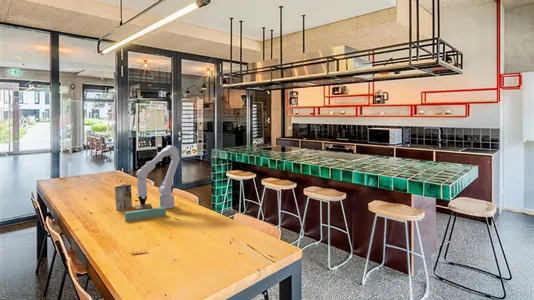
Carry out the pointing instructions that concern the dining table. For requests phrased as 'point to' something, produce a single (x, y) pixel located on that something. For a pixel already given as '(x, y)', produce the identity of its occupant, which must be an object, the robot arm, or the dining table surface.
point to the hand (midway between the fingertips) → (142, 206)
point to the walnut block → (143, 207)
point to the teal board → (145, 214)
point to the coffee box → (123, 197)
